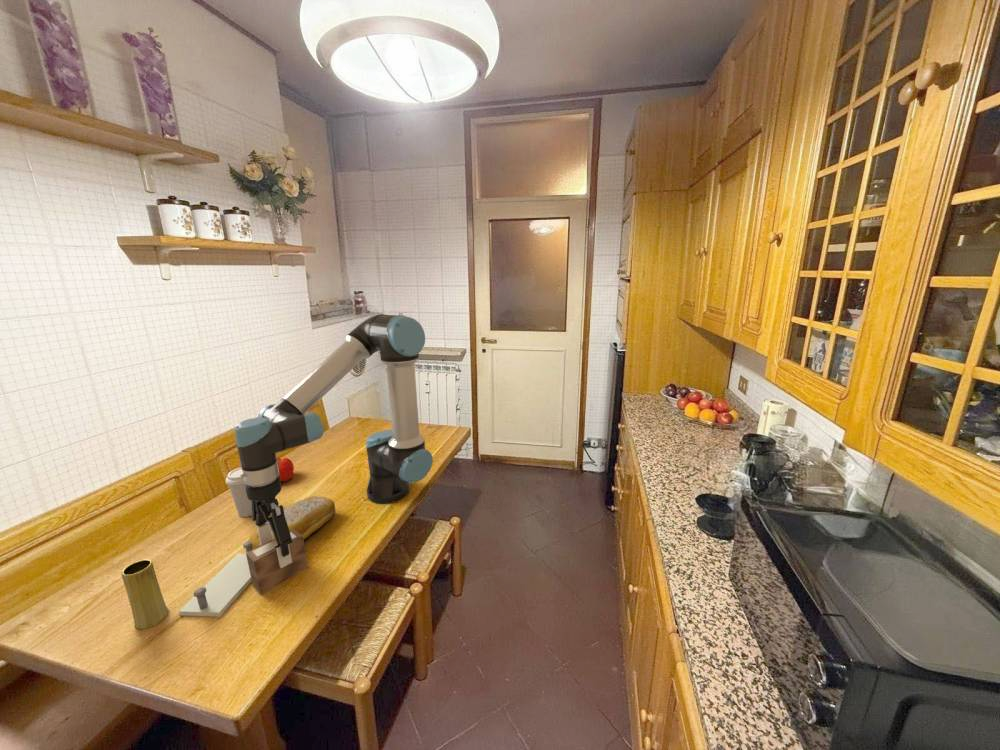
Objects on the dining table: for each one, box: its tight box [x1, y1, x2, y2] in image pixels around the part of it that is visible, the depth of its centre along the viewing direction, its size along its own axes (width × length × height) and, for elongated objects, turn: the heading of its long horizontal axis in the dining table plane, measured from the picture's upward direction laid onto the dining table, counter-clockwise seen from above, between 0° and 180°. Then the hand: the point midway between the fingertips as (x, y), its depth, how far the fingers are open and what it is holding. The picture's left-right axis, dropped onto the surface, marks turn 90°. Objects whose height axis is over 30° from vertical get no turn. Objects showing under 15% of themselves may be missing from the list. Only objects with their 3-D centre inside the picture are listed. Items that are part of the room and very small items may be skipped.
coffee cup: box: [225, 466, 252, 518], centre depth 134 cm, size 10×10×15 cm
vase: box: [121, 559, 170, 630], centre depth 92 cm, size 6×6×14 cm
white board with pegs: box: [178, 540, 252, 618], centre depth 103 cm, size 10×20×6 cm, turn 176°
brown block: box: [245, 529, 309, 596], centre depth 105 cm, size 12×5×10 cm, turn 141°
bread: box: [248, 495, 336, 550], centre depth 122 cm, size 13×26×8 cm, turn 165°
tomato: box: [276, 456, 295, 483], centre depth 155 cm, size 13×12×8 cm
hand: (276, 555), depth 105 cm, fingers open, 10 cm apart
